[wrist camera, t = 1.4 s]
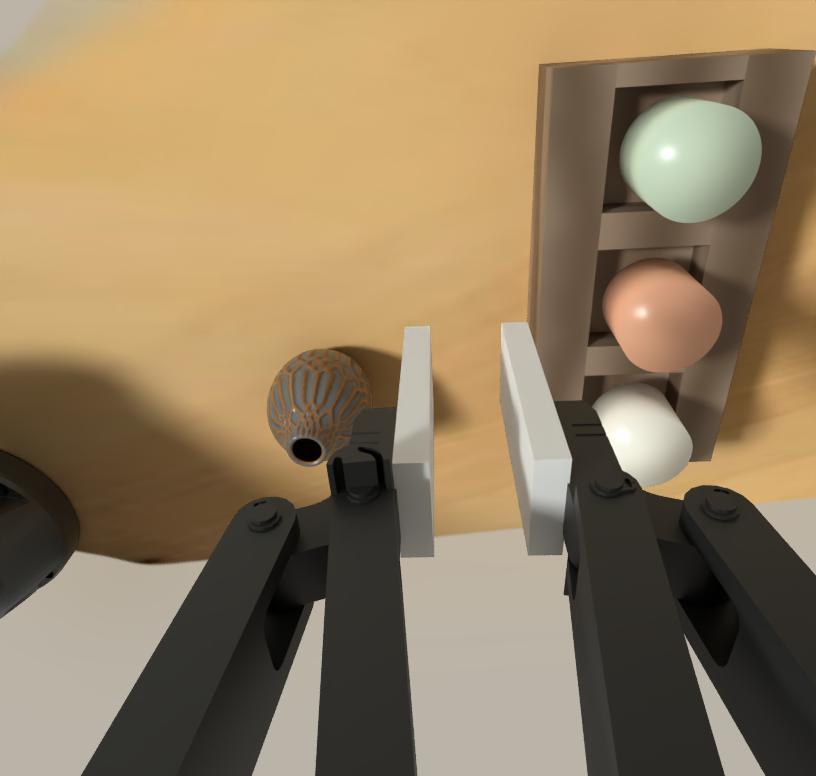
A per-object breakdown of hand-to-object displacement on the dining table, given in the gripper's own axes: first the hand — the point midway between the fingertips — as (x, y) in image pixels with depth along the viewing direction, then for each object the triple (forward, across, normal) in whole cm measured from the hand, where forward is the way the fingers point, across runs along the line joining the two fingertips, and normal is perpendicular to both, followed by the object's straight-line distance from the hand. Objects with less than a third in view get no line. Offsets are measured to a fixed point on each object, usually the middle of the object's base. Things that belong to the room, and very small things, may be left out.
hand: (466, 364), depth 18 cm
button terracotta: (+16, +11, -5) cm, 20 cm away
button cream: (+16, +11, -13) cm, 23 cm away
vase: (+21, -9, -12) cm, 26 cm away
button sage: (+16, +11, +3) cm, 20 cm away
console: (+20, +11, -5) cm, 24 cm away
